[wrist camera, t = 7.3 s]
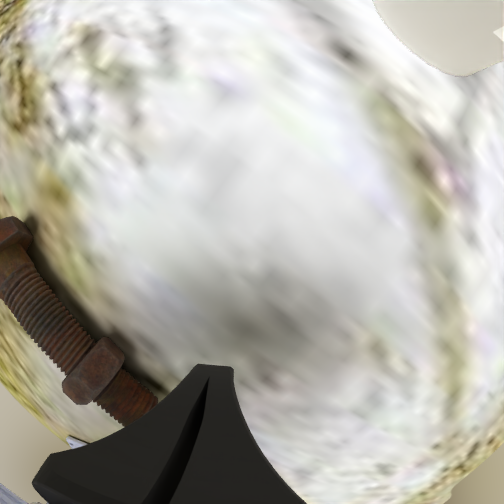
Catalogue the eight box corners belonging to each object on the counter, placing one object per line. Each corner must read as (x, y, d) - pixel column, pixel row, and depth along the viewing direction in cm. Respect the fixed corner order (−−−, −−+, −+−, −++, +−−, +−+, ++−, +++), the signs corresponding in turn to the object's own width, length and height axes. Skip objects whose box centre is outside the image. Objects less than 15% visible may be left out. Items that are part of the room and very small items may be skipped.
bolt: (155, 385, 18) (24, 238, 16) (186, 383, 15) (24, 200, 12) (114, 442, 14) (-29, 282, 11) (136, 457, 11) (-45, 251, 8)
